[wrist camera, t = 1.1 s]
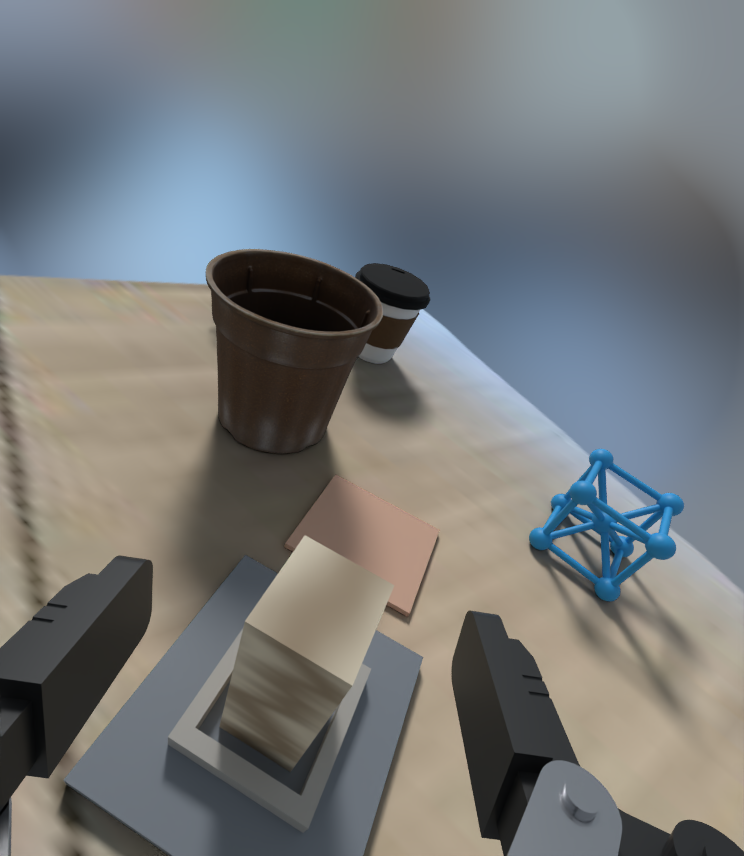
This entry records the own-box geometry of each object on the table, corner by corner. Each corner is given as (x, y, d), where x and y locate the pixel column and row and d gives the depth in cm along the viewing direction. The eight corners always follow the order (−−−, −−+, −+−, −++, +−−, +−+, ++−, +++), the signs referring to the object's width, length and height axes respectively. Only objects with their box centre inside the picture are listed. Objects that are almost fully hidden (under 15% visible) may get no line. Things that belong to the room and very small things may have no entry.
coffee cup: (343, 325, 71) (364, 254, 64) (406, 347, 72) (433, 279, 65) (329, 358, 63) (351, 279, 55) (401, 382, 64) (432, 308, 56)
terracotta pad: (284, 547, 38) (285, 542, 38) (334, 478, 46) (335, 474, 45) (407, 616, 36) (409, 613, 36) (437, 533, 44) (439, 529, 44)
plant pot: (203, 366, 53) (211, 232, 43) (331, 382, 59) (365, 266, 49) (191, 465, 42) (198, 314, 32) (352, 473, 47) (402, 346, 37)
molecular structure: (521, 543, 47) (575, 482, 41) (550, 498, 54) (600, 441, 48) (608, 610, 43) (681, 555, 37) (626, 553, 51) (690, 499, 44)
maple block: (219, 726, 26) (244, 621, 18) (265, 651, 30) (304, 535, 22) (290, 772, 26) (352, 685, 17) (328, 689, 30) (394, 585, 21)
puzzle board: (66, 784, 23) (59, 773, 22) (244, 561, 36) (247, 544, 34) (325, 964, 21) (337, 965, 20) (418, 662, 34) (430, 649, 32)
